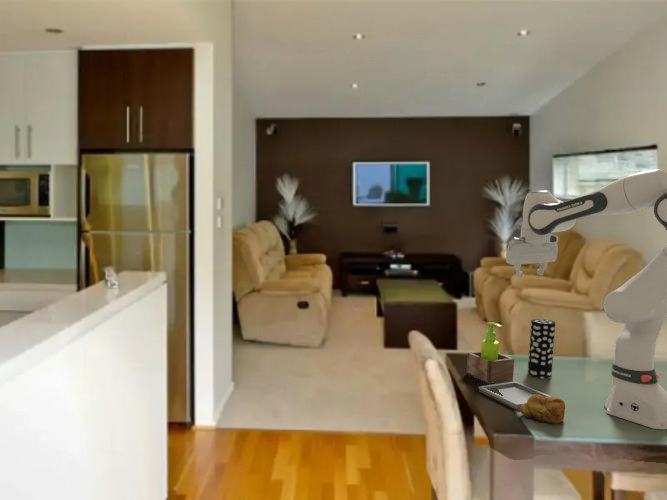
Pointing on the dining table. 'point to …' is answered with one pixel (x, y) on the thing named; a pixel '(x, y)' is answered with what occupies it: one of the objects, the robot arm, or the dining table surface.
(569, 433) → the dining table surface
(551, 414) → the bread roll
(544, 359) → the white-spotted black cylinder
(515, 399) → the grey tray
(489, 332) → the soap dispenser
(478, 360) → the walnut box
